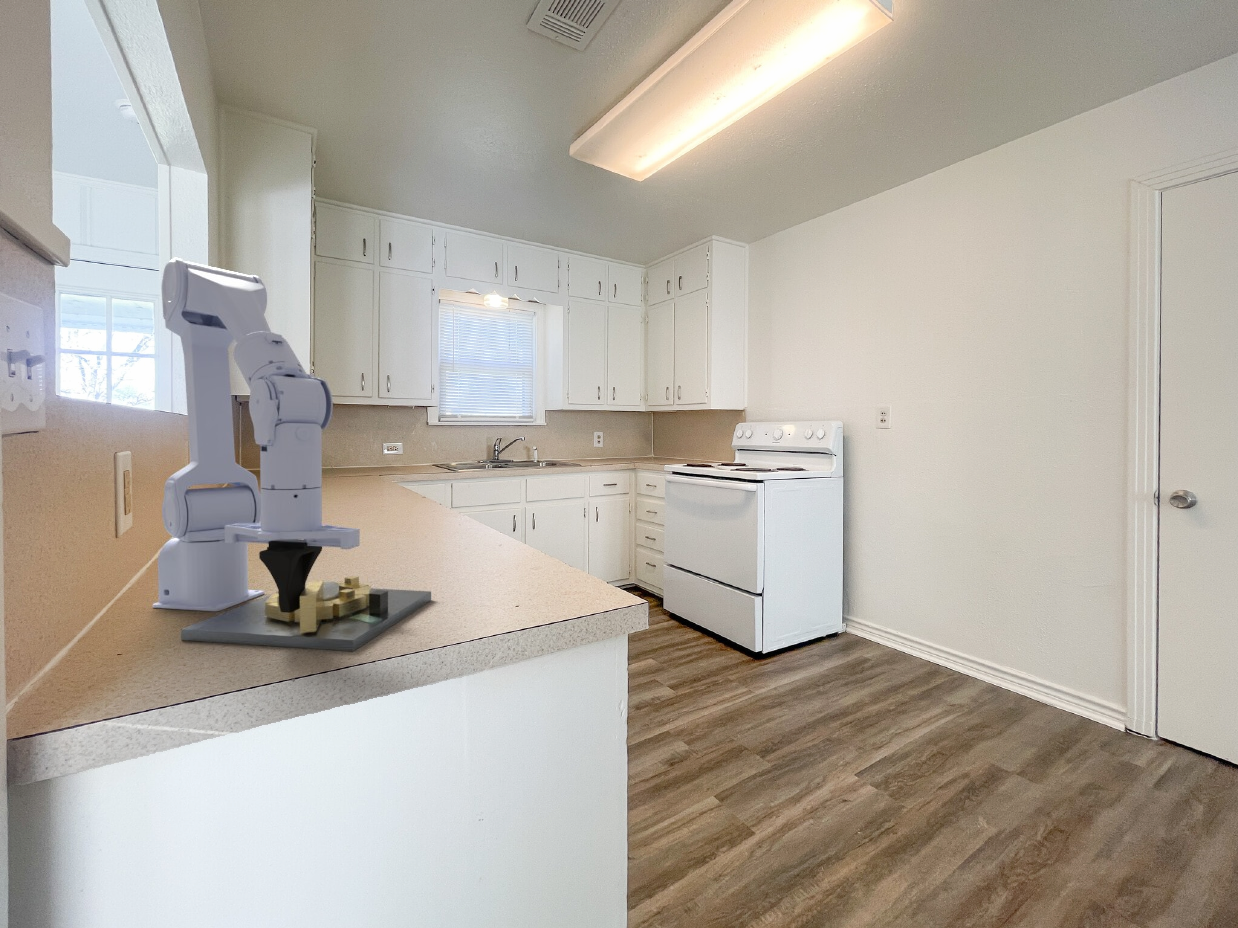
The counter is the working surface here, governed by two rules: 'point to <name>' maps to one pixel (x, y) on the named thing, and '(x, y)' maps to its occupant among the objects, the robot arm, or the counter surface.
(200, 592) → the robot arm
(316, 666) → the counter surface
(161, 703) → the counter surface
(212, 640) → the dark gray base plate
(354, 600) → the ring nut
